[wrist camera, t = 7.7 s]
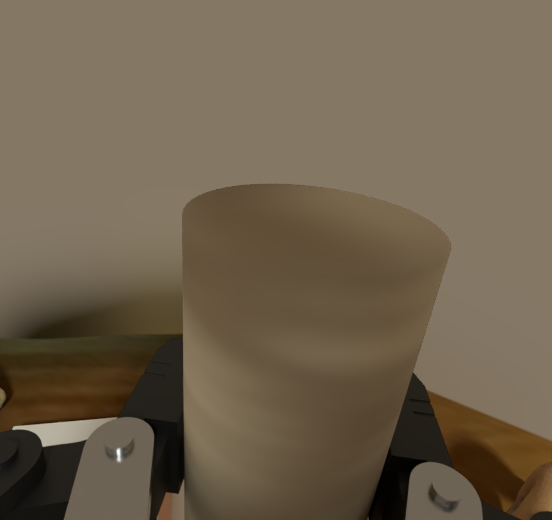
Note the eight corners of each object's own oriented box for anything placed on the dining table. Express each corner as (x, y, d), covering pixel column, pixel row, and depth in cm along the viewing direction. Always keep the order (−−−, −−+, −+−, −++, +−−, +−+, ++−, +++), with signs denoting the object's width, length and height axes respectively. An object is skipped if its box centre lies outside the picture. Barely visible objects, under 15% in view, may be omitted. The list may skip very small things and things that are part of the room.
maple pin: (308, 511, 14) (375, 187, 9) (356, 676, 10) (518, 275, 5) (184, 531, 13) (181, 180, 8) (185, 724, 9) (183, 283, 4)
